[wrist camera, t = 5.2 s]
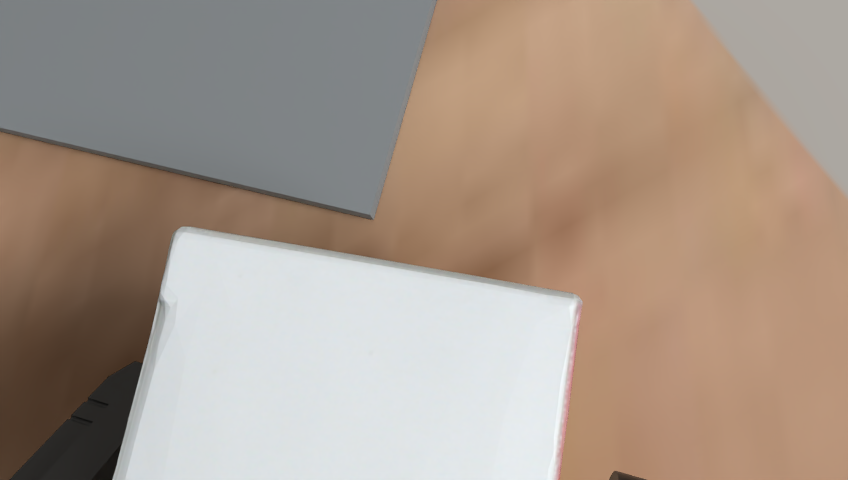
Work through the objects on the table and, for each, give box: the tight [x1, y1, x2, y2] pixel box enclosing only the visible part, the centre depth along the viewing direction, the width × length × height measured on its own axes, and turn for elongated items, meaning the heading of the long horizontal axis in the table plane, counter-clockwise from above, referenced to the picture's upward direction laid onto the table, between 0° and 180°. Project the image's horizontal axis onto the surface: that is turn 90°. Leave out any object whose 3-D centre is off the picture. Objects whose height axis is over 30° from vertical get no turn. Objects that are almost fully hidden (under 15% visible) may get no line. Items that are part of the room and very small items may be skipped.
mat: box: [0, 0, 437, 220], centre depth 21 cm, size 16×11×1 cm
